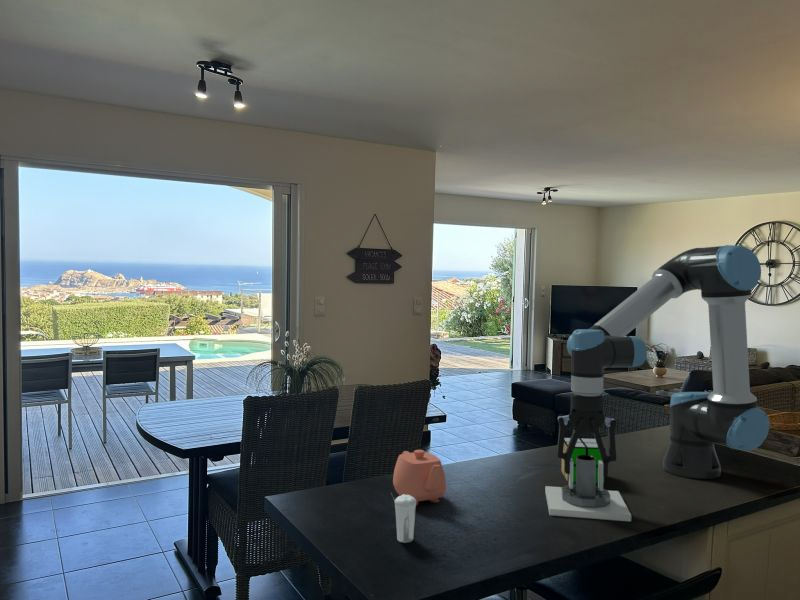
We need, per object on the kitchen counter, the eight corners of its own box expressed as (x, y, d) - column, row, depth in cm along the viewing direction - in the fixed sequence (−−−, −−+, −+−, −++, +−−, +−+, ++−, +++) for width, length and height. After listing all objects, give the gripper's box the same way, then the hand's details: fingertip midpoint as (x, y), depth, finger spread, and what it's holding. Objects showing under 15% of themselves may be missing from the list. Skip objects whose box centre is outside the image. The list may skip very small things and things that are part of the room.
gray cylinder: (595, 497, 143) (595, 455, 143) (595, 503, 139) (595, 460, 139) (576, 495, 145) (576, 454, 144) (575, 501, 140) (575, 459, 140)
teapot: (382, 490, 152) (383, 444, 152) (423, 484, 157) (423, 439, 157) (416, 517, 134) (417, 465, 133) (461, 509, 139) (462, 459, 138)
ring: (605, 493, 146) (605, 485, 146) (613, 509, 135) (613, 501, 135) (560, 490, 148) (560, 482, 148) (564, 506, 137) (564, 497, 137)
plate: (618, 496, 148) (618, 491, 148) (631, 521, 132) (631, 514, 132) (545, 491, 151) (545, 486, 151) (549, 515, 136) (549, 508, 136)
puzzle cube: (596, 473, 168) (597, 438, 167) (605, 484, 158) (606, 448, 157) (561, 471, 169) (561, 437, 168) (567, 483, 159) (568, 446, 158)
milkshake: (389, 535, 124) (390, 488, 123) (414, 534, 124) (415, 488, 124) (391, 544, 119) (391, 496, 119) (417, 544, 120) (417, 495, 119)
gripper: (625, 392, 143) (624, 485, 144) (545, 389, 147) (544, 480, 147) (632, 397, 136) (630, 496, 136) (547, 394, 139) (545, 490, 140)
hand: (585, 487), depth 142 cm, fingers open, 6 cm apart
